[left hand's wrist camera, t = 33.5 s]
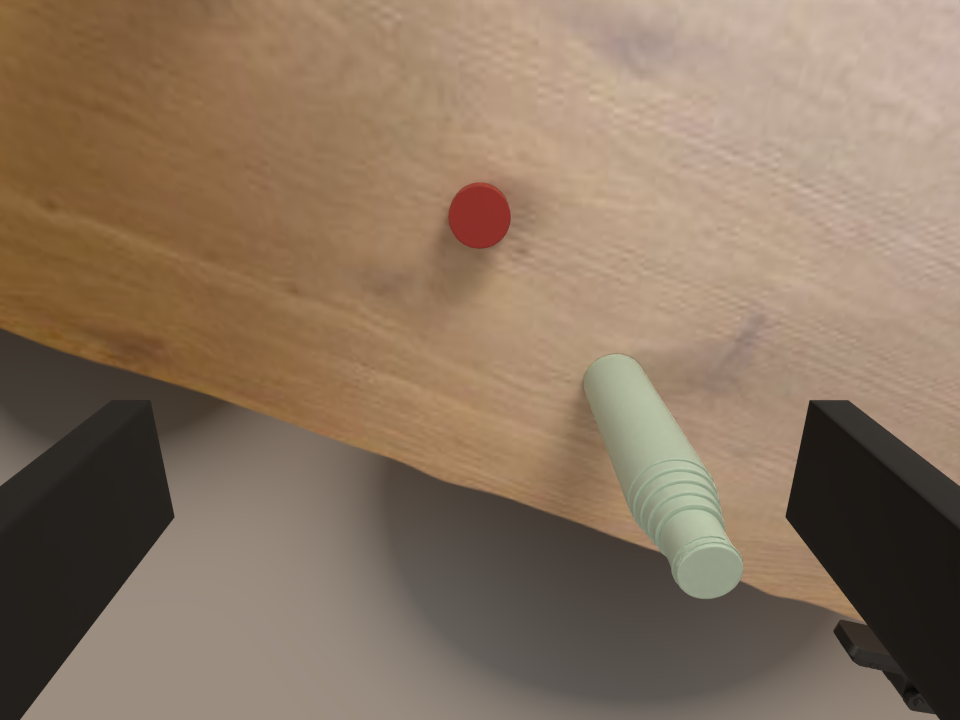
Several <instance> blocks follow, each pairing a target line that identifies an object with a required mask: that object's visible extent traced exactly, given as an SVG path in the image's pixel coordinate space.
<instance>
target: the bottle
mask: <svg viewBox="0 0 960 720" xmlns="http://www.w3.org/2000/svg"><path fill="white" fill-rule="evenodd" d="M584 391H585V394H586V397H587V399H588V402H589V404H590V407H591V410H592V412H593V415H594V418H595V420H596V423H597V425H598V428H599V431H600V433H601V436H602V439H603V441H604V444H605V446H606V449H607V452H608V454H609V457H610V460H611V462H612V465H613V468H614V470H615V473H616V475H617V478H618V481H619V483H620V486H621V489H622V491H623V494H624V496H625V499H626V502H627V504H628V507H629V510H630V512H631V514H632V516H633V517H634V518H635V520H636V522H637V524H638V525H639V527H640V528H641V529H642V530H643V531H644V532H645V534H646V535H647V536H648V537H649V538H650V539H651V541H652V542H653V543H654V544H655V545H656V546H657V547H658V549H659V550H660V551H661V552H662V553H663V554H664V555H665V556H666V557H667V559H668V561H669V563H670V565H671V569H672V575H673V577H674V579H675V581H676V583H677V584H678V585H679V586H680V587H681V589H682V590H683V591H684V592H686V593H687V594H689V595H690V596H693V597H696V598H701V599H711V598H716V597H720V596H722V595H724V594H726V593H728V592H729V591H731V590H732V589H733V588H734V587H735V586H736V585H737V584H738V582H739V581H740V579H741V576H742V572H743V560H742V557H741V555H740V553H739V552H738V551H737V549H736V548H735V547H733V545H732V543H731V542H730V540H729V538H728V537H727V535H726V533H725V524H724V521H723V515H722V511H721V507H720V501H719V498H718V492H717V489H716V487H715V485H714V482H713V479H712V477H711V475H710V474H709V472H708V471H707V469H706V468H705V466H704V464H703V463H702V461H701V460H700V458H699V457H698V455H697V453H696V452H695V450H694V449H693V447H692V446H691V444H690V443H689V441H688V439H687V438H686V436H685V435H684V433H683V432H682V430H681V429H680V427H679V425H678V424H677V422H676V421H675V419H674V418H673V416H672V415H671V413H670V411H669V410H668V408H667V407H666V405H665V404H664V402H663V401H662V399H661V397H660V396H659V394H658V393H657V391H656V390H655V388H654V387H653V385H652V383H651V382H650V380H649V379H648V377H647V376H646V374H645V373H644V371H643V369H642V368H641V366H640V365H639V364H638V363H637V362H636V361H635V360H634V359H632V358H631V357H629V356H626V355H622V354H611V355H606V356H604V357H601V358H599V359H598V360H596V361H595V362H594V363H593V364H592V365H591V366H590V367H589V369H588V370H587V372H586V374H585V377H584Z"/></svg>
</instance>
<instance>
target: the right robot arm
mask: <svg viewBox="0 0 960 720" xmlns="http://www.w3.org/2000/svg"><path fill="white" fill-rule="evenodd" d="M834 634H835V635H836V637H837V638H838V640H839V641H840V643H841V644H842V646H843V647H844V649H845V650H846V652H847V653H848V655H849V656H850V658H851V659H852V661H853V662H855V663H856V664H858V665H859V666H863V667H870V668H873V669H877V670H882V671H883V673H884V674H885V676H886V677H887V679H888V680H890V682H891V683H892V684H893V686H894V687H895V688H896V690H897V691H898V693H899V694H900V695H901V697H902V698H903V701H904V702H905V704H906V705H907V706H908V708H909V709H910V710H912V711H918V712H924V713H930V714H935V713H934V711H933V710H932V709H931V707H930V706H929V705H928V703H927V702H926V701H925V699H924V698H923V697H922V695H921V694H920V693H919V692H918V690H917V689H916V688H915V686H914V685H913V684H912V682H911V681H910V680H909V678H908V677H907V676H906V674H905V673H904V672H903V671H902V669H901V668H900V667H899V665H898V664H897V663H896V661H895V660H894V659H893V657H892V656H891V655H890V653H889V652H888V651H887V650H886V648H885V647H884V646H883V644H882V643H881V642H880V640H879V639H878V638H877V636H876V635H875V634H874V633H873V631H872V630H871V629H870V627H869V626H868V625H863V624H859V623H854V622H850V621H845V620H840V621H839V622H838V624H837V626H836V627H835V629H834Z"/></svg>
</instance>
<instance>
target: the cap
mask: <svg viewBox="0 0 960 720" xmlns="http://www.w3.org/2000/svg"><path fill="white" fill-rule="evenodd" d="M449 224H450V227H451V230H452V232H453V234H454V235H455V237H456V238H457V239H458V240H459V241H460V242H462V243H463V244H465V245H467V246H469V247H472V248H487V247H490V246H493V245H495V244H496V243H498V242H499V241H500V240H501V239H502V238H503V237H504V236H505V234H506V232H507V231H508V228H509V225H510V210H509V206H508V203H507V200H506V198H505V197H504V195H503V194H502V193H501V192H500V191H499V190H498V189H497V188H496V187H494V186H492V185H490V184H486V183H473V184H470V185H467V186H465V187H464V188H462V189H461V190H460V191H459V192H458V193H457V194H456V196H455V197H454V199H453V201H452V204H451V207H450V211H449Z"/></svg>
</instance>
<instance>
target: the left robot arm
mask: <svg viewBox="0 0 960 720" xmlns="http://www.w3.org/2000/svg"><path fill="white" fill-rule="evenodd" d="M173 518H174V512H173V507H172V503H171V498H170V493H169V488H168V483H167V479H166V474H165V469H164V464H163V459H162V455H161V450H160V445H159V440H158V435H157V430H156V425H155V421H154V416H153V411H152V406H151V402H150V400H112V401H110V402H109V403H108V404H107V405H105V406H104V407H103V408H101V409H100V410H99V411H97V412H96V413H95V414H94V415H92V416H91V417H90V418H88V419H87V420H86V421H84V422H83V423H82V424H81V425H79V426H78V427H77V428H75V429H74V430H73V431H71V432H70V433H69V434H68V435H66V436H65V437H64V438H62V439H61V440H60V441H58V442H57V443H56V444H55V445H53V446H52V447H51V448H49V449H48V450H47V451H46V452H44V453H43V454H42V455H40V456H39V457H38V458H36V459H35V460H34V461H33V462H31V463H30V464H29V465H27V466H26V467H25V468H23V469H22V470H21V471H20V472H18V473H17V474H16V475H14V476H13V477H12V478H10V479H9V480H8V481H7V482H5V483H4V484H3V485H1V486H0V720H20V719H21V718H22V716H23V715H24V714H25V712H26V711H27V710H28V709H29V707H30V706H31V705H32V703H33V702H34V701H35V699H36V698H37V697H38V695H39V694H40V693H41V692H42V690H43V689H44V688H45V686H46V685H47V684H48V682H49V681H50V680H51V678H52V677H53V676H54V674H55V673H56V672H57V671H58V669H59V668H60V667H61V665H62V664H63V663H64V661H65V660H66V659H67V657H68V656H69V655H70V653H71V652H72V651H73V650H74V648H75V647H76V646H77V644H78V643H79V642H80V640H81V639H82V638H83V636H84V635H85V634H86V633H87V631H88V630H89V629H90V627H91V626H92V625H93V623H94V622H95V621H96V619H97V618H98V617H99V615H100V614H101V613H102V612H103V610H104V609H105V608H106V606H107V605H108V604H109V602H110V601H111V600H112V598H113V597H114V596H115V594H116V593H117V592H118V591H119V589H120V588H121V587H122V585H123V584H124V583H125V581H126V580H127V579H128V577H129V576H130V575H131V574H132V572H133V571H134V569H135V568H136V567H137V566H138V564H139V563H140V562H141V560H142V559H143V558H144V556H145V555H146V554H147V552H148V551H149V550H150V549H151V547H152V546H153V545H154V543H155V542H156V541H157V539H158V538H159V537H160V535H161V534H162V533H163V531H164V530H165V529H166V528H167V526H168V525H169V524H170V522H171V521H172V520H173ZM786 518H787V520H788V521H789V522H790V524H791V525H792V526H793V528H794V529H795V530H796V532H797V533H798V534H799V535H800V537H801V538H802V539H803V541H804V542H805V543H806V545H807V546H808V547H809V549H810V550H811V551H812V553H813V554H814V555H815V556H816V558H817V559H818V560H819V562H820V563H821V564H822V566H823V567H824V568H825V570H826V571H827V572H828V574H829V575H830V576H831V577H832V579H833V580H834V581H835V583H836V584H837V585H838V587H839V588H840V589H841V591H842V592H843V593H844V594H845V596H846V597H847V598H848V600H849V601H850V602H851V604H852V605H853V606H854V608H855V609H856V610H857V612H858V613H859V614H860V615H861V617H862V618H863V619H864V621H865V622H866V623H867V625H868V626H869V627H870V629H871V630H872V631H873V633H874V634H875V635H876V636H877V638H878V639H879V640H880V642H881V643H882V644H883V646H884V647H885V648H886V650H887V651H888V652H889V653H890V655H891V656H892V657H893V659H894V660H895V661H896V663H897V664H898V665H899V667H900V668H901V669H902V671H903V672H904V673H905V674H906V676H907V677H908V678H909V680H910V681H911V682H912V684H913V685H914V686H915V688H916V689H917V690H918V692H919V693H920V694H921V695H922V697H923V698H924V699H925V701H926V702H927V703H928V705H929V706H930V707H931V709H932V710H933V711H934V713H935V714H936V715H937V716H938V718H939V719H940V720H960V486H959V485H957V484H956V483H955V482H953V481H952V480H951V479H950V478H948V477H947V476H946V475H944V474H943V473H942V472H940V471H939V470H938V469H937V468H935V467H934V466H933V465H931V464H930V463H929V462H927V461H926V460H925V459H924V458H922V457H921V456H920V455H918V454H917V453H916V452H915V451H913V450H912V449H911V448H909V447H908V446H907V445H905V444H904V443H903V442H902V441H900V440H899V439H898V438H896V437H895V436H894V435H892V434H891V433H890V432H889V431H887V430H886V429H885V428H883V427H882V426H881V425H879V424H878V423H877V422H876V421H874V420H873V419H872V418H870V417H869V416H868V415H867V414H865V413H864V412H863V411H861V410H860V409H859V408H857V407H856V406H855V405H854V404H852V403H851V402H850V401H848V400H810V401H809V406H808V411H807V416H806V421H805V425H804V430H803V435H802V440H801V445H800V449H799V454H798V459H797V464H796V469H795V474H794V478H793V483H792V488H791V493H790V498H789V502H788V507H787V512H786Z"/></svg>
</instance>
